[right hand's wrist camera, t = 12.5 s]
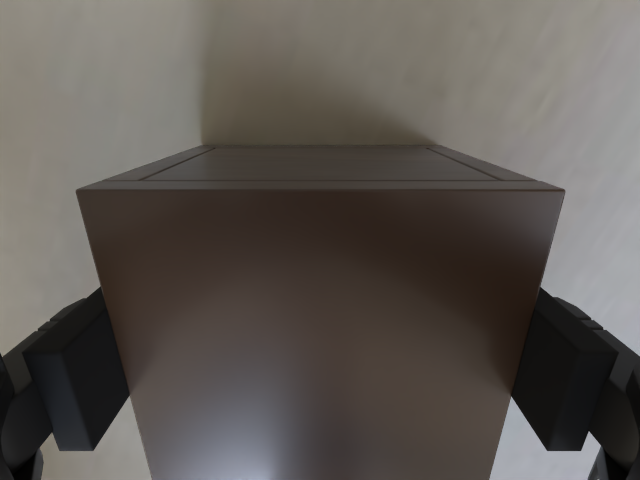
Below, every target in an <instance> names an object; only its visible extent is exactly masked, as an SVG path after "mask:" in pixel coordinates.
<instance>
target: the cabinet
mask: <svg viewBox="0 0 640 480" xmlns="http://www.w3.org/2000/svg"><path fill="white" fill-rule="evenodd" d="M76 195H77V198H78V202H79V206H80V210H81V213H82V217H83V221H84V225H85V228H86V232H87V236H88V240H89V244H90V247H91V251H92V255H93V259H94V262H95V266H96V270H97V274H98V277H99V281H100V285H101V289H102V292H103V296H104V300H105V304H106V308H107V311H108V315H109V319H110V323H111V326H112V330H113V334H114V338H115V341H116V345H117V349H118V353H119V356H120V360H121V364H122V368H123V372H124V375H125V379H126V383H127V387H128V390H129V394H130V398H131V402H132V405H133V409H134V413H135V417H136V420H137V424H138V428H139V432H140V436H141V439H142V443H143V447H144V451H145V454H146V458H147V462H148V466H149V469H150V473H151V477H152V480H489V478H490V474H491V470H492V466H493V463H494V459H495V455H496V451H497V448H498V444H499V440H500V436H501V432H502V429H503V425H504V421H505V417H506V414H507V410H508V406H509V402H510V399H511V395H512V391H513V387H514V383H515V380H516V376H517V372H518V368H519V365H520V361H521V357H522V353H523V350H524V346H525V342H526V338H527V335H528V331H529V327H530V323H531V319H532V316H533V312H534V308H535V304H536V301H537V297H538V293H539V289H540V286H541V282H542V278H543V274H544V270H545V267H546V263H547V259H548V255H549V252H550V248H551V244H552V240H553V237H554V233H555V229H556V225H557V221H558V218H559V214H560V210H561V206H562V203H563V199H564V195H565V190H564V189H562V188H559V187H556V186H553V185H551V184H548V183H545V182H542V181H537V180H535V179H532V178H529V177H526V176H524V175H521V174H518V173H515V172H513V171H510V170H507V169H504V168H501V167H499V166H496V165H493V164H490V163H488V162H485V161H482V160H479V159H476V158H474V157H471V156H468V155H465V154H463V153H460V152H457V151H454V150H451V149H449V148H446V147H444V146H441V145H238V146H198V147H195V148H192V149H189V150H186V151H184V152H181V153H178V154H175V155H172V156H170V157H167V158H164V159H161V160H158V161H156V162H153V163H150V164H147V165H144V166H141V167H139V168H136V169H133V170H130V171H127V172H125V173H122V174H119V175H116V176H113V177H110V178H108V179H105V180H102V181H99V182H96V183H93V184H90V185H88V186H85V187H82V188H79V189H77V190H76Z"/></svg>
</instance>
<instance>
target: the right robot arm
mask: <svg viewBox="0 0 640 480" xmlns="http://www.w3.org/2000/svg"><path fill="white" fill-rule="evenodd" d="M129 395H130V394H129V390H128V387H127V383H126V379H125V375H124V372H123V368H122V364H121V360H120V356H119V353H118V349H117V345H116V341H115V338H114V334H113V330H112V326H111V323H110V319H109V315H108V311H107V308H106V304H105V300H104V296H103V292H102V289H101V287H99V288H98V289H97V290H96V291H95V292H93V293H92V294H91V295H90V296H89V297H87V298H83V299H81V300H79V301H77V302H75V303H73V304H71V305H69V306H67V307H65V308H63V309H62V310H61V311H60V312H58V313H57V314H56V315H55V316H53V317H52V318H51V319H50V322H46V323H45V324H43V325H42V326H41V327H40V328H38V331H35V332H33V333H32V334H31V335H30V336H28V337H27V338H26V339H25V340H23V341H22V342H21V343H20V344H18V345H17V346H16V347H15V348H13V349H12V350H11V351H10V352H8V353H7V354H6V355H4V356H3V357H2V356H1V354H0V480H41V475H42V469H43V463H44V462H43V456H42V453H41V450H40V448H39V447H40V446H41V445H42V444H43V443H44V441H45V440H46V439H47V438H48V436H49V435H50V434H51V433H53V435H54V438H55V440H56V443H57V446H58V448H59V451H93V450H94V449H95V447H96V446H97V444H98V443H99V441H100V440H101V438H102V437H103V435H104V434H105V432H106V431H107V429H108V428H109V426H110V424H111V423H112V421H113V420H114V418H115V417H116V415H117V414H118V412H119V411H120V409H121V408H122V406H123V405H124V403H125V402H126V400H127V398H128V397H129ZM511 396H512V398H513V399H514V401H515V402H516V404H517V405H518V407H519V408H520V410H521V412H522V413H523V415H524V416H525V418H526V419H527V421H528V422H529V424H530V425H531V427H532V428H533V430H534V431H535V433H536V434H537V436H538V438H539V439H540V441H541V442H542V444H543V445H544V447H545V448H546V450H547V451H581V449H582V447H583V444H584V442H585V439H586V437H587V434H588V431H590V433H591V434H592V435H593V436H594V437H595V439H596V440H597V441H598V442H599V444H600V445H601V448H600V450H599V453H598V455H597V457H596V460H595V462H594V465H593V467H592V469H591V472H590V474H589V477H588V480H597V479H599V480H640V356H638V355H637V354H636V353H635V352H633V351H632V350H631V349H630V348H628V347H627V346H626V345H625V344H623V343H622V342H621V341H619V340H618V339H617V338H616V337H614V336H613V335H612V334H611V333H609V332H608V331H607V330H603V327H602V326H600V325H599V324H598V323H597V322H595V321H594V320H591V318H590V317H589V316H588V315H587V314H585V313H584V312H583V311H582V310H580V309H579V308H578V307H576V306H574V305H572V304H570V303H568V302H566V301H564V300H562V299H560V298H558V297H552V296H551V295H549V294H548V293H547V292H546V291H545V290H543V289H542V288H541V287H540V289H539V293H538V297H537V301H536V304H535V308H534V312H533V316H532V319H531V323H530V327H529V331H528V335H527V338H526V342H525V346H524V350H523V353H522V357H521V361H520V365H519V368H518V372H517V376H516V380H515V383H514V387H513V391H512V395H511Z"/></svg>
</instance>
